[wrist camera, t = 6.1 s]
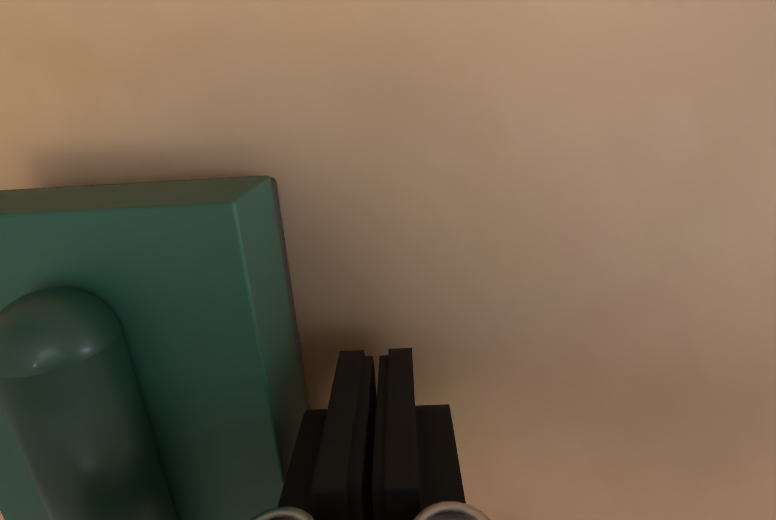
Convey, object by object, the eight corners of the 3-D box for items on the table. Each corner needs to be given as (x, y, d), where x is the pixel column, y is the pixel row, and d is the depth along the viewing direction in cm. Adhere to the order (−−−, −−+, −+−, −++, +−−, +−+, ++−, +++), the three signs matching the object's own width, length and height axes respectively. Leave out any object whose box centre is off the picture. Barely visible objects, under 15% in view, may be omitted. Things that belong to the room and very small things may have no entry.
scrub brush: (287, 162, 11) (193, 231, 6) (335, 518, 14) (303, 739, 10) (31, 176, 11) (-268, 255, 6) (146, 523, 15) (23, 740, 10)
